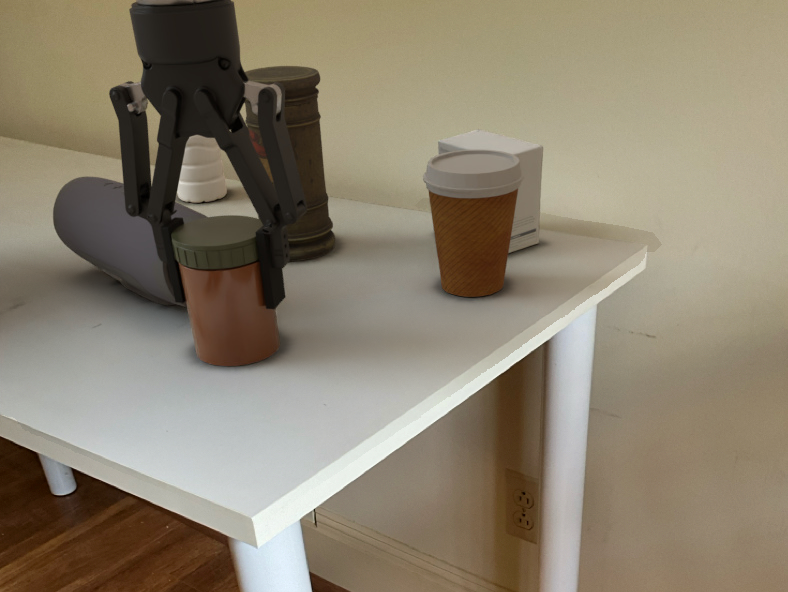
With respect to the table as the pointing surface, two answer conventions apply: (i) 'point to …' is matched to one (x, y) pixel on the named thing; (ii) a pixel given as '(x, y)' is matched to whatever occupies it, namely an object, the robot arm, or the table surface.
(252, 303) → the jar
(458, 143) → the cosmetics box
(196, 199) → the water bottle
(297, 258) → the container
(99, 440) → the table surface
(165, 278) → the bluetooth speaker
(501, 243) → the disposable coffee cup
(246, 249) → the lid
